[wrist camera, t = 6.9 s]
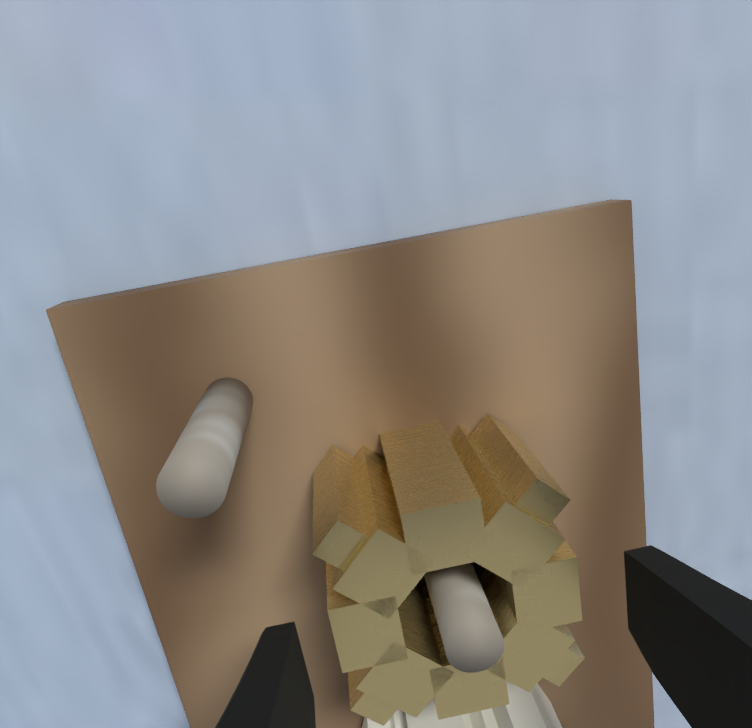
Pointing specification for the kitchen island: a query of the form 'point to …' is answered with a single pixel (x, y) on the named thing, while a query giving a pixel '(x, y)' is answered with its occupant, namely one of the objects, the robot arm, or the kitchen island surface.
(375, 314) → the gear board
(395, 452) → the brass gear
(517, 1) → the kitchen island surface
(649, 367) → the kitchen island surface
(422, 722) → the nylon gear
